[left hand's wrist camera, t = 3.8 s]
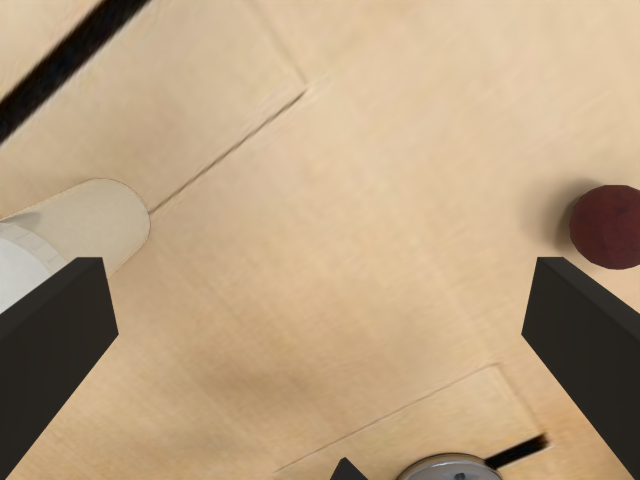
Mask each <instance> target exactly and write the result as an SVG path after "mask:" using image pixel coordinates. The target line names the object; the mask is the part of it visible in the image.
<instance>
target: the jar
mask: <svg viewBox="0 0 640 480" xmlns="http://www.w3.org/2000/svg"><path fill="white" fill-rule="evenodd" d="M0 223H7V224H13V225H15V226H18V227H21V228H24V229H26V230H28V231H31V232H32V233H34V234H36V235H38V236H39V237H41V238H43V239H44V240H45V241H47V242H48V243H49V244H51V245H52V246H53V247H54V248H55V249H56V250H57V251H58V252H59V253H60V254H61V255H62V257H63V258H64V259H65V260H66V262H67V263H70V262H71V261H72V260H74V259H75V258H76V257H103V262H104V267H105V272H106V276H107V279H108V278H109V277H110V276H112V275H113V274H114V273H115V272H116V271H117V270H118V269H119V268H120V267H121V266H122V265H123V264H124V263H125V262H126V261H127V260H128V259H129V258H130V257H131V256H132V255H134V254H135V253H136V252H137V251H138V250H139V249H140V248H141V247H142V246H143V245H144V243H145V242H146V240H147V238H148V235H149V231H150V219H149V214H148V211H147V209H146V207H145V205H144V203H143V201H142V200H141V199H140V197H139V196H138V195H137V194H136V193H135V192H134V191H132V190H131V189H130V188H128V187H127V186H125V185H123V184H121V183H119V182H117V181H114V180H110V179H103V178H97V179H91V180H87V181H85V182H83V183H80V184H78V185H76V186H74V187H71V188H69V189H67V190H65V191H62V192H60V193H58V194H56V195H53V196H51V197H49V198H47V199H44V200H42V201H40V202H38V203H35V204H33V205H31V206H29V207H26V208H24V209H22V210H20V211H17V212H15V213H13V214H11V215H8V216H6V217H4V218H2V219H0Z"/></svg>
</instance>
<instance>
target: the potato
mask: <svg viewBox="0 0 640 480" xmlns="http://www.w3.org/2000/svg"><path fill="white" fill-rule="evenodd" d="M570 237H571V240H572V242H573V244H574V245H575V247H576V248H577V250H578V252H580V253H581V254H582V255H583V256H584V257H585V258H586V259H587V260H589V261H590V262H591V263H594V264H596V265H599V266H602V267H604V268H607V269H615V270H621V269H627V268H632V267H635V266H637V265H640V190H637V189H635V188H632V187H630V186H627V185H604V186H601V187H598V188H595V189H593V190H591V191H589V192H588V193H586V194H585V195H584V196H583V197H581V198H580V200H579V201H578V203H577V204H576V206H575V207H574V211H573V214H572V218H571V221H570Z"/></svg>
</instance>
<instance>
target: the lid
mask: <svg viewBox="0 0 640 480" xmlns="http://www.w3.org/2000/svg"><path fill="white" fill-rule="evenodd" d="M67 264H68V263H67V262H66V260H65V259H64V258H63V257H62V255H61V254H60V253H59V252H58V251H57V250H56V249H55V248H54V247H53V246H52V245H51V244H49V243H48V242H47V241H45V240H44V239H43V238H41V237H39V236H38V235H36V234H34V233H32V232H31V231H28V230H26V229H24V228H21V227H18V226H15V225H13V224H7V223H0V314H1V313H2V312H4V311H5V310H6V309H8V308H9V307H10V306H12V305H13V304H14V303H16V302H17V301H18V300H20V299H21V298H22V297H24V296H25V295H26V294H28V293H29V292H30V291H32V290H33V289H35V288H36V287H37V286H39V285H40V284H41V283H43V282H44V281H45V280H47V279H48V278H49V277H51V276H52V275H53V274H55V273H56V272H57V271H59V270H60V269H62V268H63V267H64V266H66V265H67Z"/></svg>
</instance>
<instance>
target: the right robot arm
mask: <svg viewBox="0 0 640 480" xmlns="http://www.w3.org/2000/svg"><path fill="white" fill-rule="evenodd" d="M330 480H368V479H367V478H366V477H365V476H364V475H363V474H362V473H361V472H360V471H359V470H358V469H357V468H356V467H355V466H354V465H353V464H352V463H351V462H350V461H349V460H348V459H347V458H346V457H344V458H343V459H341V460H340V462H339V463H338V465H337V467H336V469H335V471H334V473H333V475H332V477H331V479H330ZM397 480H503V478H502V476H501V474H500V473H499V471H498V470H497V469H496V468H495V467H494V466H492V465H491V464H490V463H488V462H487V461H485V460H483V459H480V458H478V457H474V456H470V455H464V454H444V455H438V456H433V457H430V458H427V459H424V460H422V461H420V462H418V463H416V464H414V465H412V466H411V467H409V468H408V469H407V470H405V471H404V472H403V473H402V474H401V475H400V476H399V478H398V479H397Z"/></svg>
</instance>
